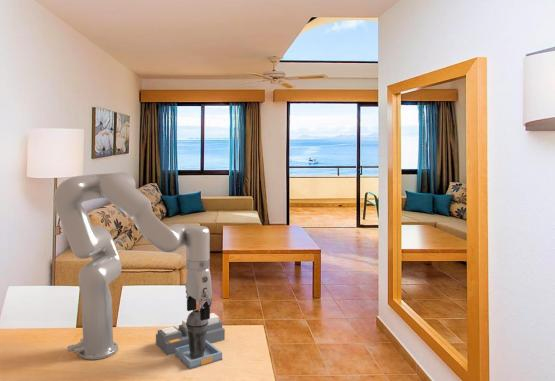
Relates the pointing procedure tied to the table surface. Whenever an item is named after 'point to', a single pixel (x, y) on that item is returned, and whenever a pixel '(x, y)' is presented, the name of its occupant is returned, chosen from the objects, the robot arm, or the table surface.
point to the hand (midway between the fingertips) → (198, 314)
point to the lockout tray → (209, 357)
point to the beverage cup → (196, 333)
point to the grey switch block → (181, 338)
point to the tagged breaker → (169, 331)
